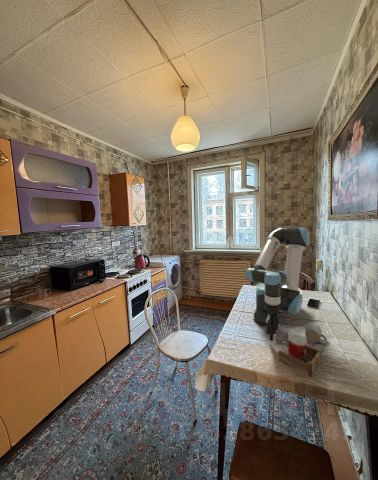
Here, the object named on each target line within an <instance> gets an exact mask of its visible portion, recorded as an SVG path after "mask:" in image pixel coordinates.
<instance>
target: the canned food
mask: <svg viewBox="0 0 378 480" xmlns="http://www.w3.org/2000/svg"><path fill="white" fill-rule="evenodd" d="M307 340H308V339H307V338H305V337H303V336H301V335H298V334H290V335H288V341H287V342H288V348H287V354H289V355H291V356H293V357H295V358H297V359H300V360H302V361H304V362H306V363H308V362H307V360H308V356H307V346H308V341H307Z"/></svg>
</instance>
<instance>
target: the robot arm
mask: <svg viewBox="0 0 378 480" xmlns="http://www.w3.org/2000/svg"><path fill="white" fill-rule="evenodd" d="M310 242H311V241H310V232H309V230H308V228H307V227H299V226H298V227H286V226H285V227H279V228H276V229H275V230H273V231H272V232H270V233H269V235H268V236H267V237H266V239H265V243H264V247H263V248H262V249H261V251H260V254H259V256H258V257H257V260H256V261H255V264H254V265H253V267H249V268H247V269H246V272H245V278H246V280H247V281H249V282H255V283H258V284H260V283H264V284H265V285H263V286H259V287H258V288H257V289H256V290H255V299H256V300H255V304H256V306H255V311H254V313H253V321H254V322H255V323H256V324H257V325H261V326H263V327H265V329H266V330H265V332H266V335H268V337H269V338H268V345H270V346H272V347H276V334H277V335H278V328H279V321H280V315H281V312H279V311H280V310H282V311H285V312H287V313H291V314H299V312H300V310H301V307H302V305H303V297H304V296H303V294H302V295H301V294H300V291H299V289H300V288H299V281H300V274H301V267H302V266H301V265H302V258H303V251H305V250H306V248H307V247H309V246H310ZM281 245H284V246H285V248H286V249H287V251H286V252H287V253H286V258H285V266H284V270H277V271H273V270H272V271H271V270H268V267H269V266H270V263H271V261H272V259H273V258H274V255H275V253H276V251H277V249H278V248H279V247H280V246H281ZM298 288H299V289H298Z"/></svg>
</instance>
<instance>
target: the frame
mask: <svg viewBox="0 0 378 480" xmlns="http://www.w3.org/2000/svg"><path fill="white" fill-rule="evenodd" d="M307 358H310V359H312V360H311V361H310V362H309V363H308V362H304V361H302V360H300V359H297V358H295V357H293V356H291V355H289V354H288V352H287V353H286V352H284V351H282V350H279V351H278V362H279V363H282V364H284V365H287V367H289V368H291V369H294V370H296V371H298V372H300V373H301V374H304V375H305V376H307V377H309V378H312V376H313V374H314V373H315V372H316V370H317V368H318V367H319V365H320V363H321V362H322V350H320V349H317V348H315V347H312V346H310V345H307Z"/></svg>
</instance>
